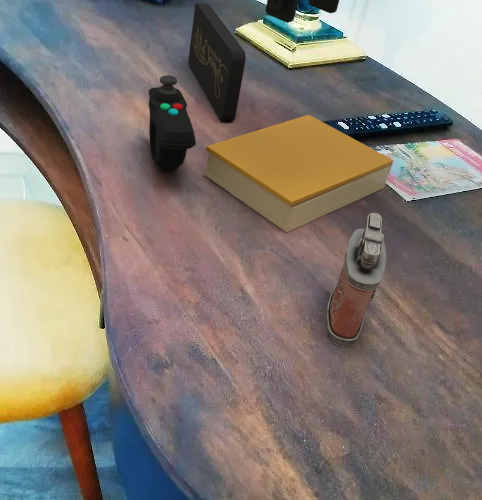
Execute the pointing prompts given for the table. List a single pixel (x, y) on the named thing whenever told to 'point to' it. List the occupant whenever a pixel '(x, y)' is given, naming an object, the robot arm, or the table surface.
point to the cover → (299, 158)
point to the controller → (169, 125)
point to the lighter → (356, 283)
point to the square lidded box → (299, 212)
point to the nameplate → (216, 61)
